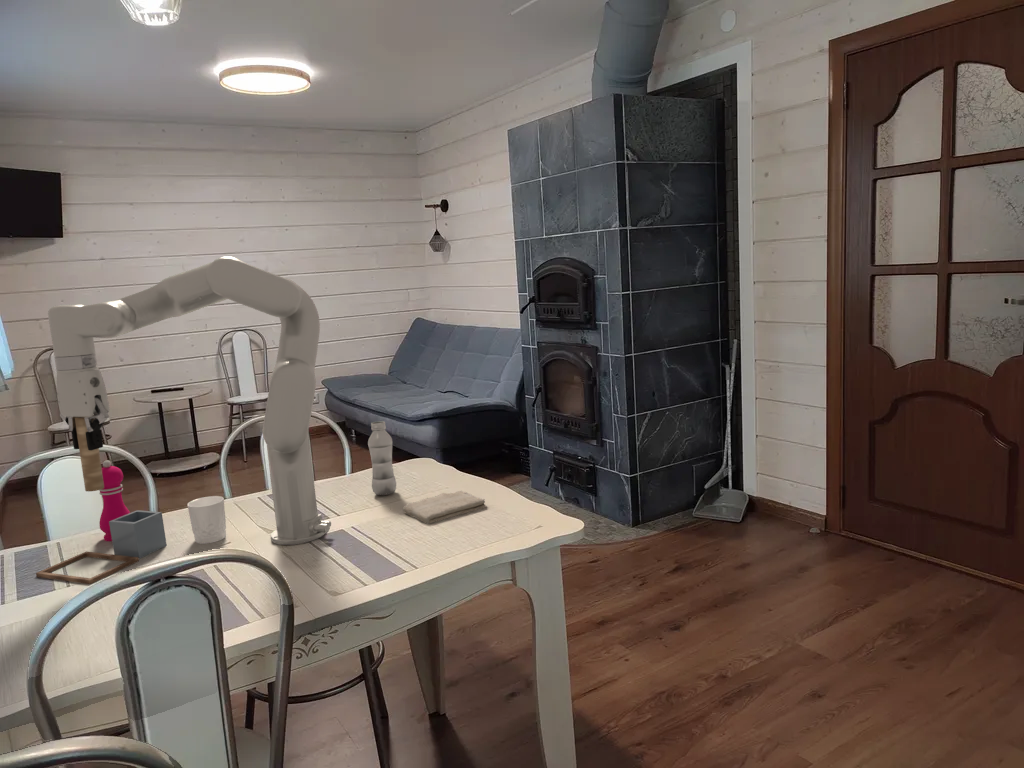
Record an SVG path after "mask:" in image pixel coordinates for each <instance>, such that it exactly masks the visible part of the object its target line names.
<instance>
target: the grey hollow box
mask: <svg viewBox="0 0 1024 768" xmlns="http://www.w3.org/2000/svg"><path fill="white" fill-rule="evenodd" d="M109 525H110V531H111V537H112V541H111V542H112V548H113V553H114V554H113V555H122V556H130V557H138V558H139V559H142V558H143V557H146V556H147V555H149V554H152V553H154V552H156V551H158V550H161V549H162V548H165V547H167V546H168V545H167V538H166V532H165V524H164V518H163V512H162V511H154V510H153V511H150V510H149V511H148V510H141V509H139V510H134V511H132V512H130V513H129V514H126V515H124V516H121V517H119V518H116V519H114V520H111V521H109Z"/></svg>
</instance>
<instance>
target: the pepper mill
mask: <svg viewBox="0 0 1024 768" xmlns="http://www.w3.org/2000/svg"><path fill="white" fill-rule="evenodd" d="M102 466H103V467H101V468H102V475H103V482H104V488H103V489H101V490H98V491H99V495H101V497H102V501H103V504H102V505H103V506H102V511H101V513H100V517H99V529H100V531H102V532H103V533H104V535H103V540H104V542H112V537H111V531H110V525H109V521H111V520H114V519H116V518H119V517H121V516H124V515H126V514H129V513H131V512H130V510H129V509H128V507H127V506H126V505H125V502H124V500H123V495H122V494H123V493H122V492H123V490H124V488H123V484H122V481H123V480H124V473H123V471H122V469H121V468H119V467H117V466H115V465H112V462H111V461H110V460H109V459H108V460H106V459H105V460H104V461H103V462H102Z"/></svg>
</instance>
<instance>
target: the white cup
mask: <svg viewBox="0 0 1024 768" xmlns="http://www.w3.org/2000/svg"><path fill="white" fill-rule="evenodd" d="M224 500H225V499H224V497H223V496H221V495H220V496H219V495H212V496H211V495H210V496H205V497H204V496H203V497H199V498H196V499H193V500H191V501H189V502H187V504H186V505H187V510H188V516H189V521H190V525H191V530H192V533H193V535H194V536H193V538H194V542H195V543H196V544H201V545H203V544H205V545H206V544H211V543H214V542H215V543H216V542H219V541H221V540H223V539H225V538H226V537H227V530H226V529H227V522H226V521H227V519H226V510H225V501H224Z"/></svg>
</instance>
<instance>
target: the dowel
mask: <svg viewBox="0 0 1024 768" xmlns="http://www.w3.org/2000/svg"><path fill="white" fill-rule="evenodd" d="M93 416H94V414H93ZM93 420H94V419H91V422H93ZM75 424H76V431H77V437H78V444H79V449H78V450H79V455H80V457H79V458H80V462H81V469H82V470H81V471H82V476H83V477H82V478H83V483H84V490H85V492H96V491H99V490H101V489H103V488H104V482H103V475H102V468H103V467H102V462H101V455H100V448H98V449H95V450H88V446H87V440H86V432H88V430H87V427H86V423H85V419H84V418H82V417H75Z"/></svg>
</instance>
